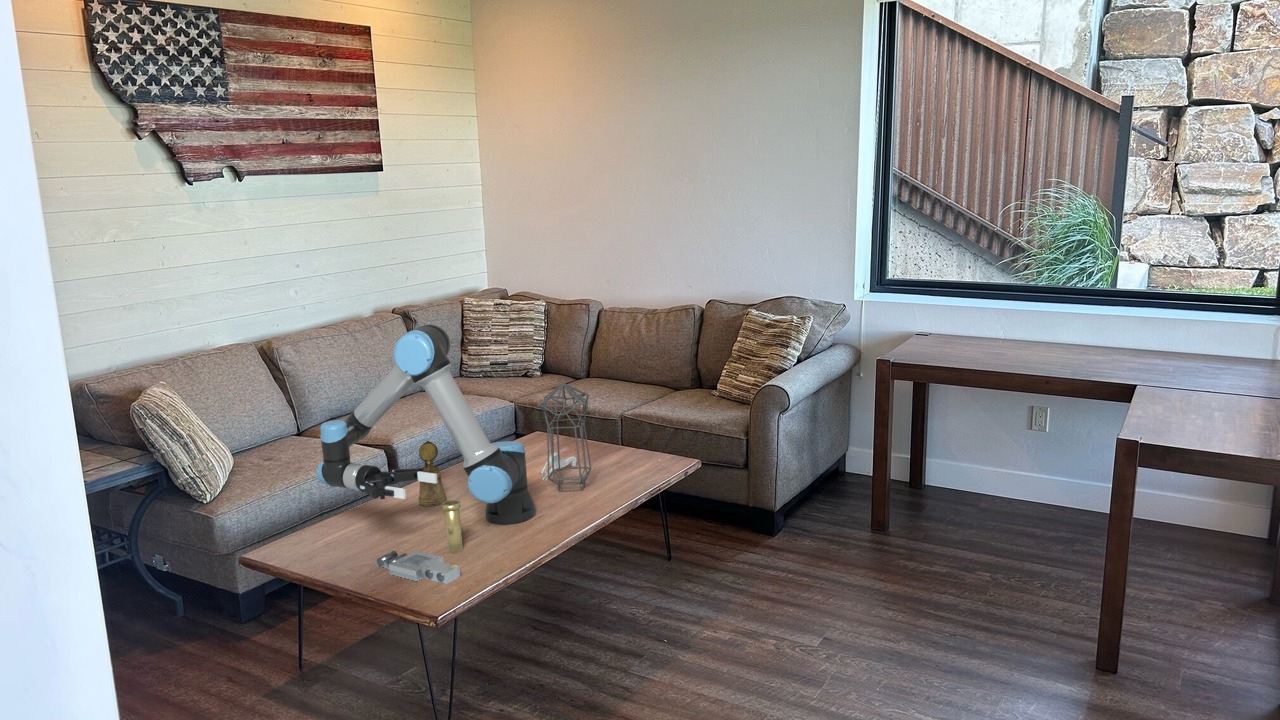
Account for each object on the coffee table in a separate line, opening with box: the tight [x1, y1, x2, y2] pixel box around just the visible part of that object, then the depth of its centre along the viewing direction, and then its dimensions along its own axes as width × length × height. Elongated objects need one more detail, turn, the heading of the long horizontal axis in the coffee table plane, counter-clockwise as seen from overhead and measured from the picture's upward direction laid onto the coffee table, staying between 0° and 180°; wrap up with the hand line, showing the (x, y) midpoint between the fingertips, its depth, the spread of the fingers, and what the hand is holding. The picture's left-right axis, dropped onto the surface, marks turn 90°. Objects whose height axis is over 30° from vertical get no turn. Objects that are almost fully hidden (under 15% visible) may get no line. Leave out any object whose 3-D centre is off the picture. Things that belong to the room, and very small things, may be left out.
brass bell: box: [418, 440, 448, 507], centre depth 300 cm, size 9×14×18 cm, turn 11°
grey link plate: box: [374, 550, 461, 585], centre depth 247 cm, size 26×10×3 cm, turn 58°
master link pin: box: [441, 499, 464, 554], centre depth 258 cm, size 5×5×14 cm
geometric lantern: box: [537, 382, 592, 492], centre depth 304 cm, size 16×16×35 cm
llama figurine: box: [539, 452, 578, 481], centre depth 322 cm, size 2×11×18 cm
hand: (420, 486), depth 260 cm, fingers open, 13 cm apart
